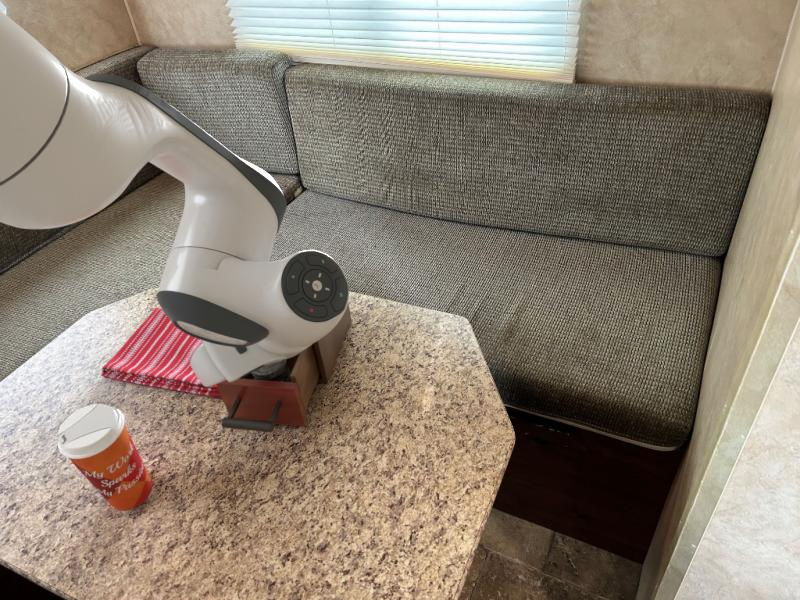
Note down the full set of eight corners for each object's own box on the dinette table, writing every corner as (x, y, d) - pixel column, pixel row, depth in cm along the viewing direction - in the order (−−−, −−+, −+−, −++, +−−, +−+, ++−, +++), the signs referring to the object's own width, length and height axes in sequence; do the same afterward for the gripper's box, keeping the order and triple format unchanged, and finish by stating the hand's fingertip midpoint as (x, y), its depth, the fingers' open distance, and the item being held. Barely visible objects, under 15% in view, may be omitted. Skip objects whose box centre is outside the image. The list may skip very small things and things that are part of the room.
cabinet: (328, 383, 93) (316, 337, 87) (252, 377, 95) (235, 332, 89) (351, 320, 104) (342, 275, 98) (282, 316, 106) (270, 273, 100)
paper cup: (112, 529, 77) (63, 463, 68) (93, 490, 82) (45, 424, 73) (170, 492, 80) (130, 424, 71) (148, 457, 85) (108, 390, 76)
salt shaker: (245, 389, 86) (220, 327, 78) (261, 360, 90) (240, 298, 83) (283, 394, 84) (262, 331, 77) (298, 364, 89) (279, 301, 81)
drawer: (294, 455, 82) (281, 418, 77) (217, 447, 84) (199, 410, 79) (331, 359, 96) (322, 322, 91) (263, 354, 98) (251, 318, 93)
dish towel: (228, 402, 92) (223, 390, 90) (100, 380, 98) (93, 369, 97) (276, 327, 104) (272, 315, 103) (160, 312, 111) (154, 301, 109)
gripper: (336, 258, 76) (307, 287, 88) (188, 341, 67) (179, 360, 79) (363, 301, 76) (331, 324, 88) (219, 390, 67) (205, 401, 79)
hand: (258, 342), depth 84 cm, fingers closed on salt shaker, 3 cm apart
